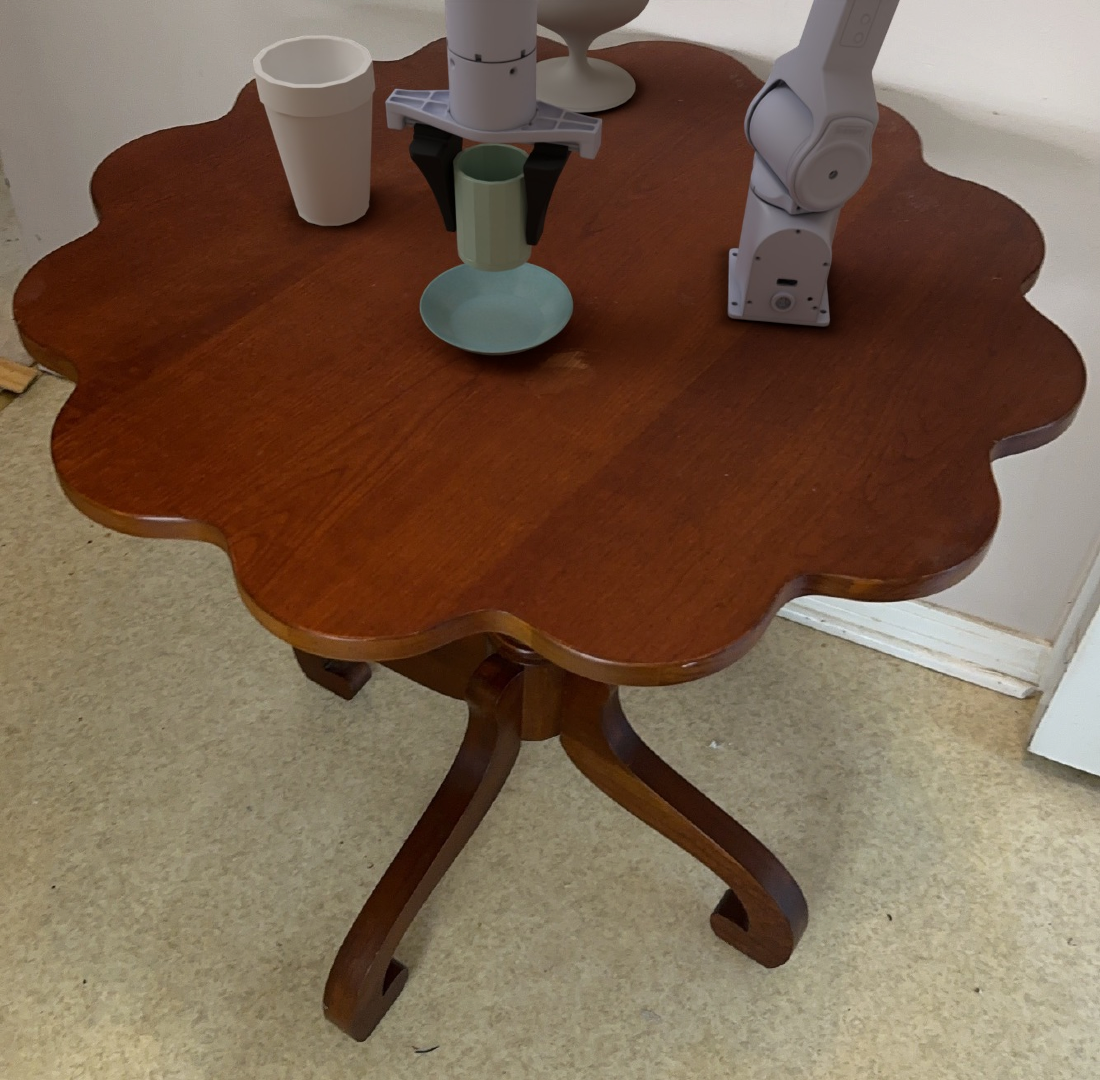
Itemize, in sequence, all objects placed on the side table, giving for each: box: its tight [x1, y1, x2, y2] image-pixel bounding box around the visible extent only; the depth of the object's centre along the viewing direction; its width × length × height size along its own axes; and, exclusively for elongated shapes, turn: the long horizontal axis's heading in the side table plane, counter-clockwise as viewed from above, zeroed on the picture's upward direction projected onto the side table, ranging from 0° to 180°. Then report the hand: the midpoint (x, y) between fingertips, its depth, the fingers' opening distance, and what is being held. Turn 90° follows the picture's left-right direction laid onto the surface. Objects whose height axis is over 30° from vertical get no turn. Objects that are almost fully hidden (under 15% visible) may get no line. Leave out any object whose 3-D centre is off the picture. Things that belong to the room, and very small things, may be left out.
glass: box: [453, 143, 533, 272], centre depth 78 cm, size 6×6×7 cm
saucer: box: [419, 262, 574, 356], centre depth 85 cm, size 12×12×2 cm
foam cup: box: [252, 34, 376, 227], centre depth 92 cm, size 10×9×13 cm
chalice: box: [536, 0, 650, 113], centre depth 107 cm, size 14×14×15 cm
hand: (495, 231), depth 79 cm, fingers closed on glass, 5 cm apart
